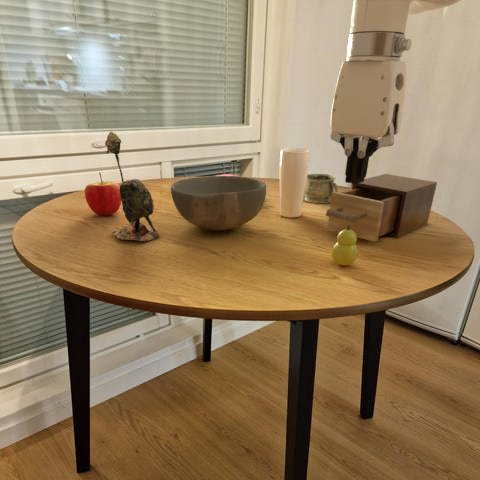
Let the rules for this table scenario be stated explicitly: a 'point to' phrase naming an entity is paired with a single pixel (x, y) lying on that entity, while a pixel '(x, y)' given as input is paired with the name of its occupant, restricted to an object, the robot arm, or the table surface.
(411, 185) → the cabinet
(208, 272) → the table surface
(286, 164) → the drinking glass
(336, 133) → the robot arm
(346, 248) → the pear
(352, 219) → the drawer
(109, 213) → the apple
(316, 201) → the vessel
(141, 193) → the stone bird figurine
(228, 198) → the bowl
